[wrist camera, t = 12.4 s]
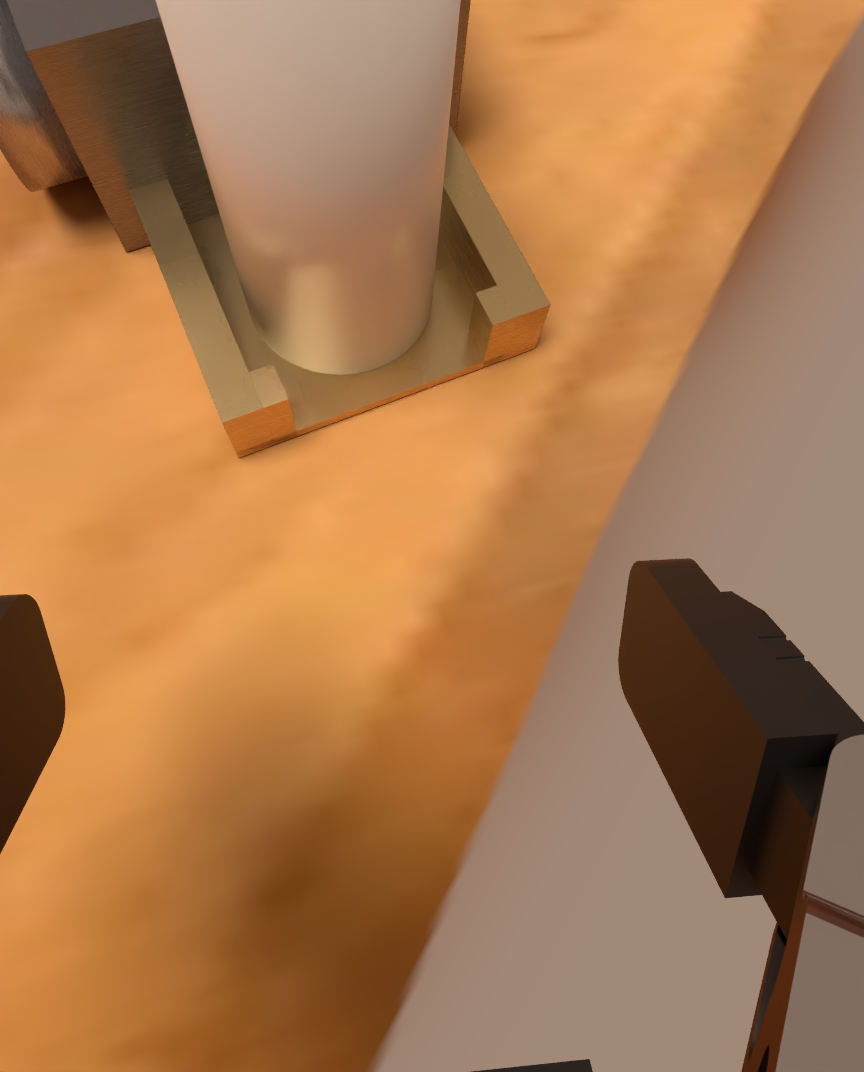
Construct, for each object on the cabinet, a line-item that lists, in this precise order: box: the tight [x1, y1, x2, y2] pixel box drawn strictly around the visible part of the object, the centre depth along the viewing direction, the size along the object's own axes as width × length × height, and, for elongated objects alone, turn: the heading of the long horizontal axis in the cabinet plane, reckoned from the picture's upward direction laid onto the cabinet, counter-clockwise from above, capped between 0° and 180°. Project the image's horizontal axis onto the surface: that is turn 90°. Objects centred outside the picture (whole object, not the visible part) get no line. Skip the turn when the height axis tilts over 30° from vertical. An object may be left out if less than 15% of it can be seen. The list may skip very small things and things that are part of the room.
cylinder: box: [156, 0, 461, 375], centre depth 14 cm, size 5×5×13 cm
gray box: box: [0, 0, 550, 458], centre depth 18 cm, size 14×12×8 cm
